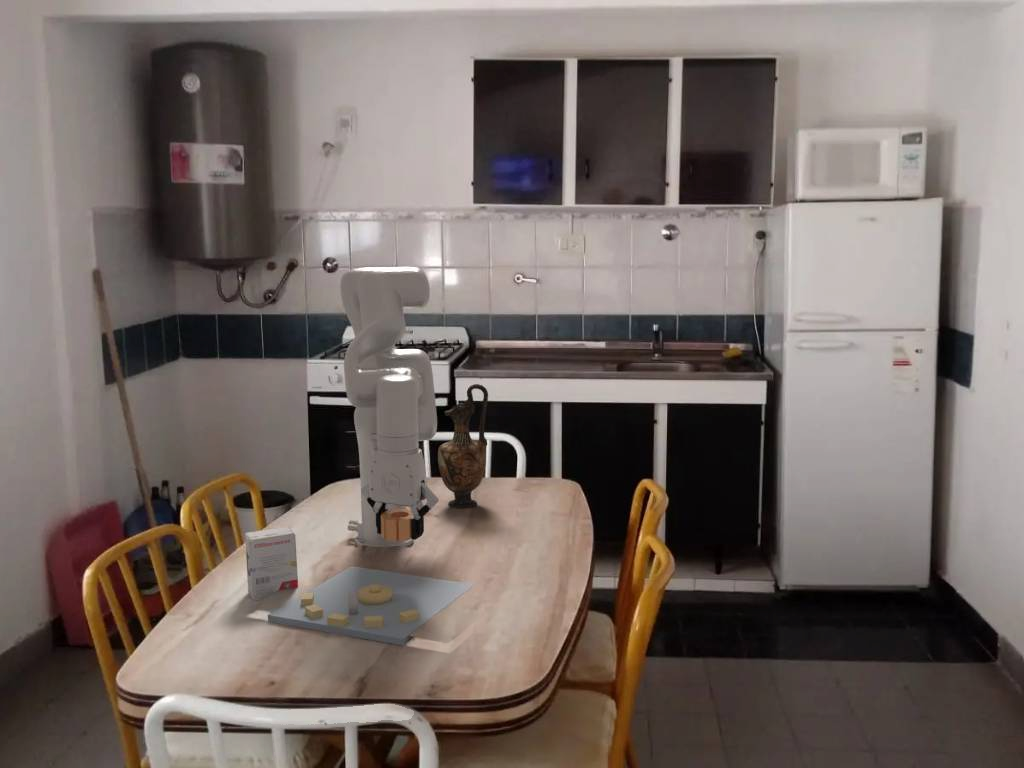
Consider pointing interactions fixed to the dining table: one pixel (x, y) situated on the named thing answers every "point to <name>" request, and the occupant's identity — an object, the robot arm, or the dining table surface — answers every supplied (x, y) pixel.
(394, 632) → the carrier board
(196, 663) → the dining table surface
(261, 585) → the ink box
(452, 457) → the vase
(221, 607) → the dining table surface
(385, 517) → the planet gear
